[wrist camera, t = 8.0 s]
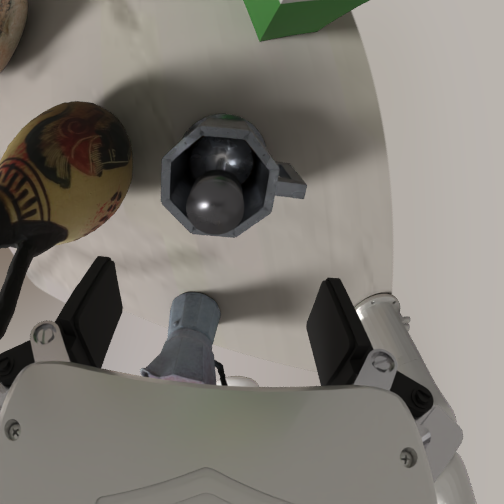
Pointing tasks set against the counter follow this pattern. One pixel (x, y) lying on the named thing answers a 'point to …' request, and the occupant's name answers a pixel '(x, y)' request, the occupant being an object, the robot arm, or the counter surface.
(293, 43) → the counter surface
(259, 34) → the hardback book
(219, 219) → the dark grey stemmed piece
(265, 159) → the carafe
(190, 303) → the moka pot
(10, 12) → the cooking pot
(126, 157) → the ceramic jug
